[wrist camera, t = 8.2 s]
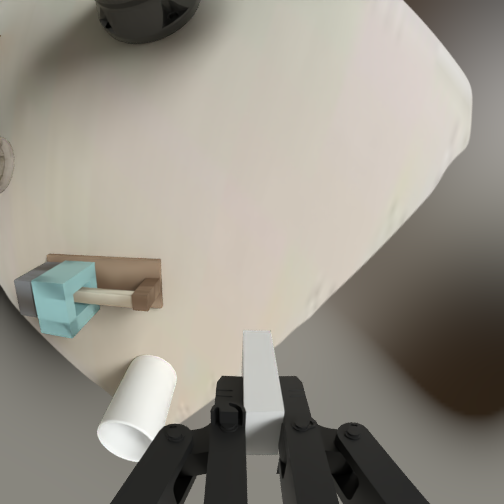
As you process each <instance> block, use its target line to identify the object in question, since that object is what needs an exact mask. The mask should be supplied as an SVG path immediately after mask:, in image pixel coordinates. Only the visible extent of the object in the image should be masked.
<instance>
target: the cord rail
mask: <svg viewBox="0 0 504 504" xmlns="http://www.w3.org/2000/svg"><path fill="white" fill-rule="evenodd" d="M65 260H66V261H83V262H95V272H96V282H97V288H89V287H81V288H80V289H79V290H78V291H76V292H75V293H74V294H73V298H74V302H79V303H87V304H97V305H107V306H117V307H128V308H133V310H138V311H148V310H149V309H150V307H151V308H162V306H163V299H162V279H161V259H147V258H125V257H104V256H84V255H64V254H48V255H47V262H46V263H44V264H42V265H40V266H38V267H37V268H35V269H33V270H31V271H29V272H28V273H26V274H24V275H22V276H20V277H19V278H17V279H15V280H14V283H15V288H16V293H17V299H18V303H19V308H20V313H21V315H26V316H32V317H37V316H38V315H37V310H36V305H35V300H34V295H33V289H32V283H31V281H32V280H33V279H35V278H37V277H38V276H40V275H41V274H43V273H45V272H47V271H48V270H50V269H52V268H53V267H55V266H57V265H58V264H60V263H62V262H64V261H65Z"/></svg>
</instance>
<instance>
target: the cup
mask: <svg viewBox="0 0 504 504" xmlns="http://www.w3.org/2000/svg"><path fill="white" fill-rule="evenodd" d="M176 382H177V376H176V373H175V370H174V369H173V367H172V366H171V365H170V364H169V363H168V362H167V361H165V360H164V359H162V358H160V357H157V356H154V355H141V356H138V357H136V358H135V359H134V360H133V361H132V362H131V364H130V366H129V368H128V369H127V371H126V373H125V375H124V377H123V379H122V381H121V383H120V385H119V387H118V389H117V391H116V392H115V394H114V396H113V398H112V401H111V402H110V404H109V406H108V408H107V410H106V412H105V415H104V416H103V418H102V420H101V423H100V425H99V427H98V430H97V435H98V438H99V440H100V442H101V443H102V444H103V445H104V447H105V448H106V449H108V450H109V451H110V452H112V453H113V454H115V455H117V456H118V457H121V458H123V459H126V460H130V461H134V462H139V460H140V459H141V457H142V456H143V454H144V453H145V451H146V450H147V448H148V447H149V445H150V444H151V442H152V441H153V439H154V438H155V436H156V435H157V433H158V432H159V430H160V429H162V428H163V427H164V425H165V421H166V418H167V414H168V410H169V407H170V403H171V400H172V396H173V393H174V389H175V386H176Z"/></svg>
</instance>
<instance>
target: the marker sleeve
mask: <svg viewBox="0 0 504 504" xmlns="http://www.w3.org/2000/svg"><path fill="white" fill-rule="evenodd" d="M31 283H32V289H33V295H34V300H35V305H36V310H37V315H38V320H39V324H40V328H41V333H45V334H51V335H56V336H62V337H67V338H73V337H74V336H75V335H76V334H77V333H78V332H79V331H80V330H81V329H82V327H83V326H84V325H85V324H86V323H87V322H88V321H89V320H90V319H91V318H92V317H93V316H94V315H95V314H96V312H97V311H98V310H99V309H100V306H99V305H97V304H87V303H79V302H74V298H73V294H74V293H75V292H76V291H78V290H79V289H80V288H81V287H89V288H97V282H96V272H95V262H83V261H66V260H65V261H64V262H62V263H60V264H58V265H57V266H55V267H53V268H52V269H50V270H48V271H47V272H45V273H43V274H41V275H40V276H38V277H37V278H35V279H33V280H32V281H31Z"/></svg>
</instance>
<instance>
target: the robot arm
mask: <svg viewBox="0 0 504 504" xmlns="http://www.w3.org/2000/svg"><path fill="white" fill-rule="evenodd" d="M95 1H96V5H97V10H98V15H99V20H100V22H101V24H102V26H103V27H104V29H105V30H106V31H107V32H108V33H109V34H110V35H111V36H113V37H114V38H115V39H117V40H119V41H122V42H125V43H132V44H140V43H148V42H152V41H156V40H159V39H162V38H164V37H166V36H168V35H170V34H172V33H174V32H175V31H177V30H178V29H180V28H181V27H182V26H183V25H185V24H186V23H187V22H188V21H189V20H190V18H191V17H192V16H193V15H194V13H195V12H196V10H197V8H198V6H199V3H200V0H95ZM278 449H279V455H280V458H279V463H278V468H277V474H280V482H281V491H282V499H283V504H339V501H338V498H337V494H338V496H339V497H340V499H341V501H342V502H343V504H430V503H429V502H428V501H427V500H426V499H425V498H424V496H423V495H422V494H421V493H420V492H419V491H418V490H417V488H416V487H415V486H414V485H413V484H412V482H411V481H410V480H409V479H408V478H407V476H406V475H405V474H404V473H403V472H402V470H401V469H400V468H399V467H398V466H397V464H396V463H395V462H394V461H393V460H392V459H391V457H390V456H389V455H388V454H387V452H386V451H385V450H384V449H383V448H382V446H381V445H380V444H379V443H378V442H377V440H376V439H375V438H374V437H373V436H372V434H371V433H370V432H369V431H368V429H367V428H365V427H364V426H363V425H361V424H358V423H352V422H351V423H346V424H343V425H341V426H340V427H339V428H338V430H337V429H330V428H325V427H322V426H320V425H318V424H317V422H316V421H315V420H314V419H313V418H312V417H311V414H310V410H309V406H308V403H307V399H306V396H305V391H304V388H303V384H302V382H301V381H300V380H299V379H298V378H297V377H296V376H278V370H277V364H276V358H275V352H274V347H273V341H272V335H271V331H266V330H243V350H242V377H237V376H222V377H221V378H220V379H219V380H218V382H217V387H216V397H215V405H214V406H213V407H212V409H211V423H210V424H209V425H208V426H206V427H204V428H201V429H197V430H190V429H189V428H188V427H186V426H184V425H181V424H169V425H166V426H164V427H163V428H162V429H160V430H159V432H158V433H157V435H156V436H155V438H154V439H153V441H152V442H151V444H150V445H149V447H148V448H147V450H146V451H145V453H144V454H143V456H142V457H141V459H140V460H139V462H138V464H137V465H136V466H135V468H134V469H133V471H132V472H131V474H130V475H129V477H128V478H127V480H126V481H125V483H124V484H123V486H122V487H121V489H120V490H119V491H118V493H117V494H116V496H115V497H114V499H113V500H112V502H111V503H110V504H184V502H185V500H186V497H187V496H188V493H189V491H190V489H191V487H192V485H193V483H194V481H195V479H196V476H197V475H202V474H206V485H205V497H204V504H247V471H246V455H277V454H278ZM336 493H337V494H336Z"/></svg>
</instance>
